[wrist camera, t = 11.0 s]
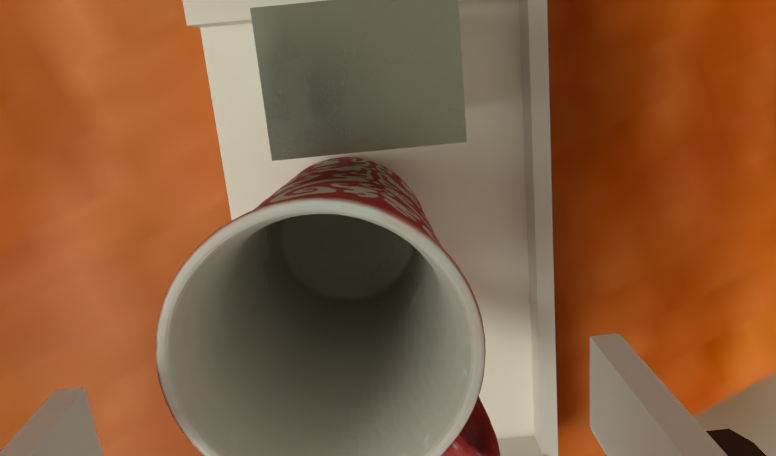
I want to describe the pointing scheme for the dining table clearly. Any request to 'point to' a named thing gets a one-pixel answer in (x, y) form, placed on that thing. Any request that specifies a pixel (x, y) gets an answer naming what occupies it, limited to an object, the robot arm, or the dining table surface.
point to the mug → (326, 328)
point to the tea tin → (360, 75)
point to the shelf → (443, 188)
